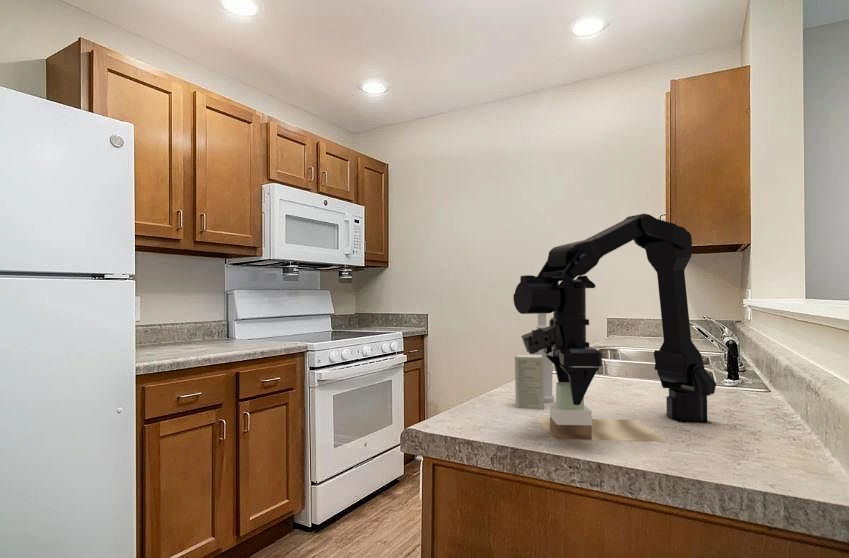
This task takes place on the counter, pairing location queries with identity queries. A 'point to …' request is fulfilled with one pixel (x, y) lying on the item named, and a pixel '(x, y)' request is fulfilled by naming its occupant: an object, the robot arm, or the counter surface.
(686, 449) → the counter surface
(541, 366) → the skincare box
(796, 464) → the counter surface
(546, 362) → the bottle
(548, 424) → the cutting board
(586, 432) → the tower base
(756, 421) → the counter surface
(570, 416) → the tower mid
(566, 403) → the green cube
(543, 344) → the robot arm
